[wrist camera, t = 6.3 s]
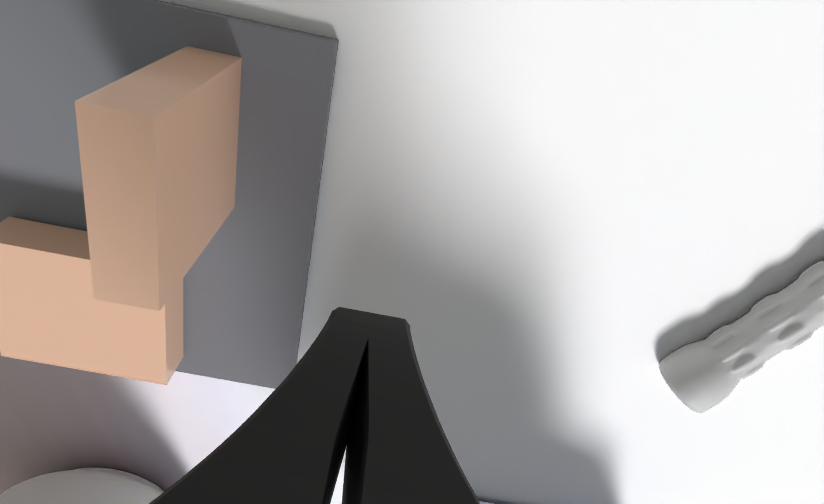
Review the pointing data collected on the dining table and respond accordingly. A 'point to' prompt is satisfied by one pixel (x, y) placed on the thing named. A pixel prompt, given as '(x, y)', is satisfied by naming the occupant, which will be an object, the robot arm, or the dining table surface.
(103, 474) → the teacup
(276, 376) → the mat
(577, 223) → the dining table surface
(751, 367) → the axe
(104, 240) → the tile
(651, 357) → the dining table surface
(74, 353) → the tile
